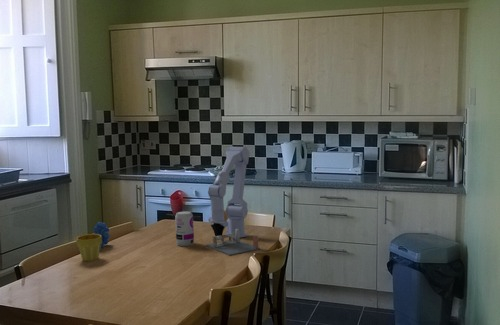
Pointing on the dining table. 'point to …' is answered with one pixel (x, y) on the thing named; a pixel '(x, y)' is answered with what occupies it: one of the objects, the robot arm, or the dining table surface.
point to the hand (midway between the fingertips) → (218, 239)
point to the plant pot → (89, 246)
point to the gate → (223, 239)
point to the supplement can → (184, 228)
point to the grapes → (102, 232)
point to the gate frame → (236, 246)
